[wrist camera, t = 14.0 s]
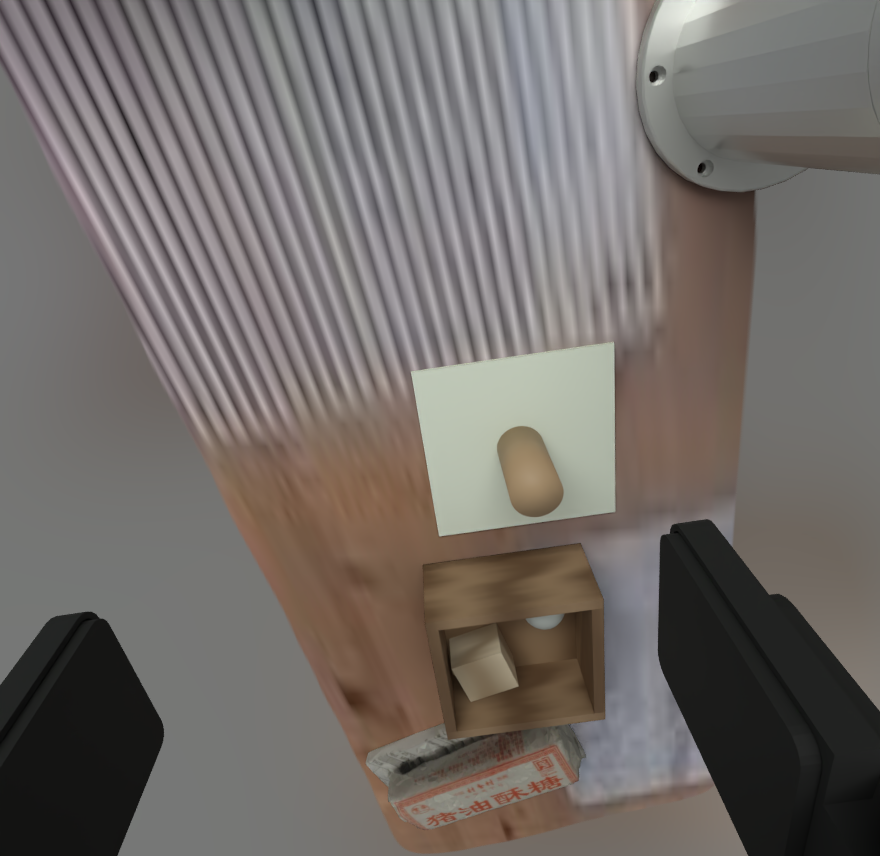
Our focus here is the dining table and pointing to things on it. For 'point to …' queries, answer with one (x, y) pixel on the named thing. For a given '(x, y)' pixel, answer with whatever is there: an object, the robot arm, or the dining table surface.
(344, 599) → the dining table surface
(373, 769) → the packaged product
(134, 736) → the robot arm
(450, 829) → the dining table surface
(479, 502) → the lid
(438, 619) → the walnut box
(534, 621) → the grey ball
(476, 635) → the beech block
